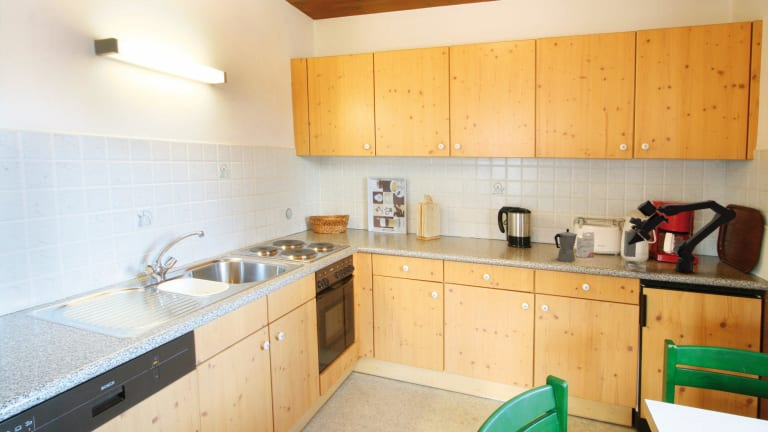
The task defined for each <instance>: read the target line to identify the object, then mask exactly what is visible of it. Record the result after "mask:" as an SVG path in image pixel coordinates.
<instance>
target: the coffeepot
mask: <svg viewBox="0 0 768 432" xmlns="http://www.w3.org/2000/svg"><path fill="white" fill-rule="evenodd" d="M577 235H578V234H577V233H574V232H570V229H569V228H566V229H565V232H564V231H563V232H559V233H556V234H555V235H554V237H553V239H554V242H555V246H556V248H557V249H559V250H558V254H557V260H558V261H559V262H565V263H571V262H572V263H573V262H575V261H576V257H575V256H576V255H575V250H574V246H576V245H575V243H576V241H577V237H578V236H577Z"/></svg>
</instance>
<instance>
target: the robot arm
mask: <svg viewBox="0 0 768 432" xmlns="http://www.w3.org/2000/svg"><path fill="white" fill-rule="evenodd" d="M636 209H637V210H638V211H639V212H640V213H641V214H642V215H643V216H644V217H645V218H646V217H648V218H647V219H643V220H642V218H641V217H640V218H639V217H637V218H636V217H633V216H631V218H630V219H629V221H628V223H630V224H632V225H631V226H630V229H632V230H633V231H635V236H634V237H633V238H632V239H631V240H630V241H629V242H628V245H631V244H635V243H636V244H638V243H641V242H645V241H646V242H649V241H650V240H651V239H652V236H651V235H650V233H651V232H653V231H656V230H657V228H658V227H659V226H660V225H661V224H662V223H665V224H669V217H673V216H676V215H680V214H682V213H686V212H693V211H700V210H709V209H710V210H711V211H712V212H714V213H715V214H713V215H714V216H713V218H712V219H711V220H710V221H709V222H707V223H706V224H705V225H704V226H702V228H700V229H699V230H698V231H697V232H696V233H694V234H693V235H692V236H690V237H689V238H688V239H686V240H684V239H680V240H679V242H677V243H675V244H674V245H675V246H674V247H673V253H675V255H676V256H677V260H676V264H675V268H674V270H675V271H677V272H679V273H684V274H695V273H696V272H695V271H694V263H695V262H694V261H695V260H696V257H695V256H694V255H693V252H694V250H695V248H696V247H697V245H699V244H700V243H702V241H704V240H705V239H706V238H708V237H709V236H710V235H711V234H713V232H715V231H716V230H717V229H718V228H719V227H720V228H721V226H723V225H726V224H729V223H730V222H732V221H734V220H735V219H736V218H737V212H736V211H735V210H734V209H732V208H727V207H726V206H724V205H721V204H720V203H718V202H717V201H716V200H712V199H707V200H702V201H695V202H689V203H664V204H662V205H661V206H655V205H654V204H653V203H652V202H651V201H650V200H646V201H644V202H642V203H640V205H638V206H637V208H636ZM666 216H667V217H666Z"/></svg>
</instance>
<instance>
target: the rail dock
mask: <svg viewBox="0 0 768 432" xmlns="http://www.w3.org/2000/svg"><path fill="white" fill-rule="evenodd" d="M642 263H643V262H642V261H637V260H624V261H623V267H624V268H625V269H626V270H627V271H628V272H642V273H646V271H647V265H646V264H642Z"/></svg>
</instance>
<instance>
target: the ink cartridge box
mask: <svg viewBox="0 0 768 432" xmlns="http://www.w3.org/2000/svg"><path fill="white" fill-rule="evenodd" d="M575 250H576V251H575V252H576V253H575V256H576V257H578V258H582V259H583V258H593V257H594V256H595V255H594V253H595V252H594V251H595V232H594V231H590V232H582V236H576V249H575Z"/></svg>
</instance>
